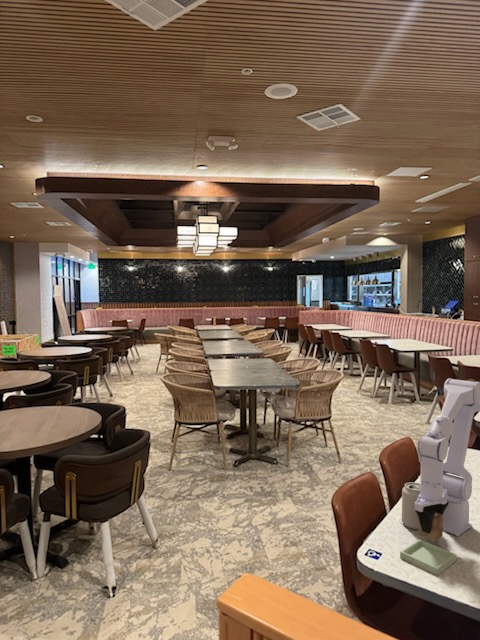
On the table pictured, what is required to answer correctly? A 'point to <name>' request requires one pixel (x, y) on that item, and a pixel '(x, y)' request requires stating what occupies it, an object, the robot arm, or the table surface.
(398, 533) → the table surface
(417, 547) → the tray
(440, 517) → the block
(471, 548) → the table surface
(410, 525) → the can
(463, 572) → the table surface
